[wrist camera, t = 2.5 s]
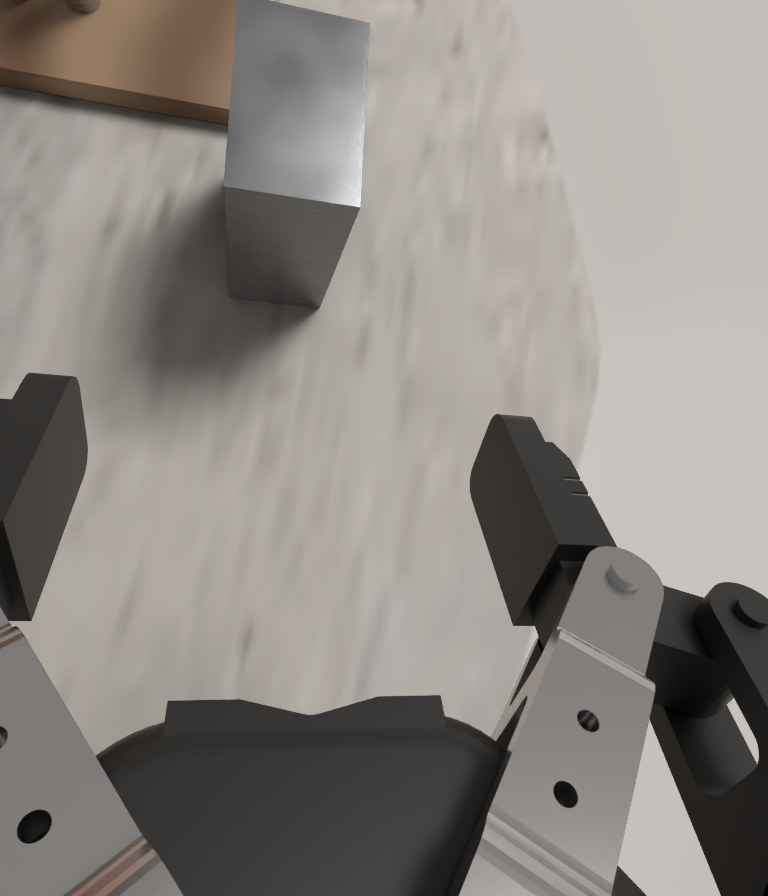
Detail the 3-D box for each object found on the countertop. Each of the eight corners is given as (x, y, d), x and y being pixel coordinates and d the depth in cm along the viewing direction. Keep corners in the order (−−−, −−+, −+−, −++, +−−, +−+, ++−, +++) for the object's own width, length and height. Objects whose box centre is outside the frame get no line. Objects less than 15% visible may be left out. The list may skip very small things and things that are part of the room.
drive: (230, 297, 27) (223, 186, 18) (239, 168, 28) (238, -9, 18) (319, 308, 28) (360, 207, 18) (326, 182, 29) (369, 20, 19)
